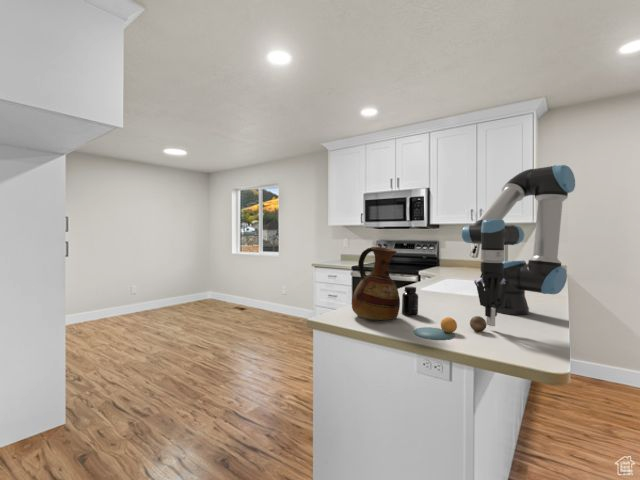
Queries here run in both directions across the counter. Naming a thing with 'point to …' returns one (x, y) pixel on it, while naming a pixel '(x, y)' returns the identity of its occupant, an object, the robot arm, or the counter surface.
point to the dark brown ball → (478, 323)
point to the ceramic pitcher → (376, 288)
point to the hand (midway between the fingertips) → (490, 325)
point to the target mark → (433, 333)
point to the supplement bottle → (410, 301)
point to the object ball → (448, 325)
